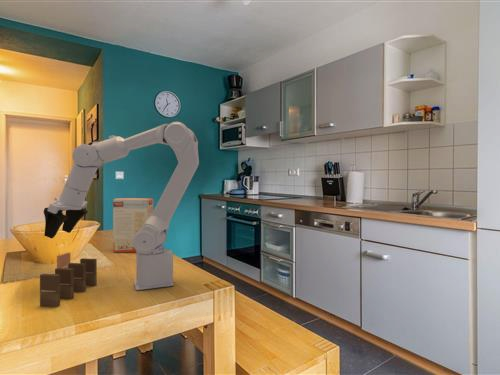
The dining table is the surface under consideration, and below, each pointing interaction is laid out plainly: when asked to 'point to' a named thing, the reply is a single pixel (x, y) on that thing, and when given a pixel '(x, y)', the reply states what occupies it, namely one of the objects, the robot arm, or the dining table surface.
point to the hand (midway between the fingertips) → (57, 234)
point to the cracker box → (129, 221)
